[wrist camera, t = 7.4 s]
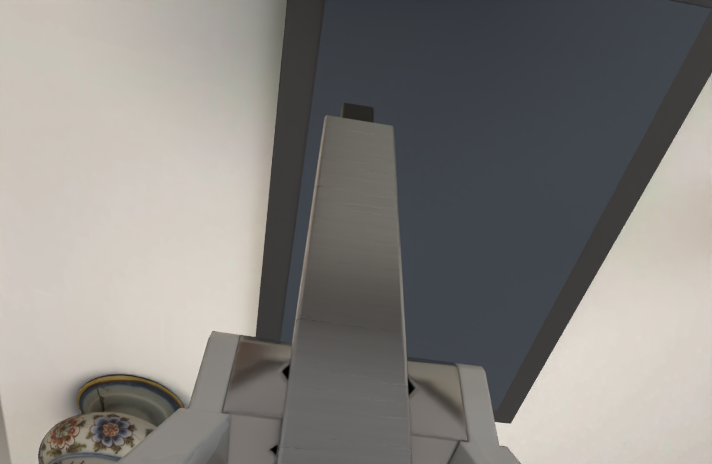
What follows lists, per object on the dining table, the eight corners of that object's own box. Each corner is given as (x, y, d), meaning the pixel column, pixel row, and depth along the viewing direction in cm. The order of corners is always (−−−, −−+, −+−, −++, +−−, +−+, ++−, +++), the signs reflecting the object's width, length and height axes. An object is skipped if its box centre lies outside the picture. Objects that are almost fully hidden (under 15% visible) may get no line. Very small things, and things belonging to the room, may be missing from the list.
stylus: (329, 83, 18) (246, 662, 6) (393, 94, 18) (425, 678, 7) (321, 140, 19) (238, 714, 8) (380, 149, 20) (390, 725, 8)
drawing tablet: (300, -121, 29) (297, -117, 28) (758, -31, 31) (770, -25, 30) (252, 382, 54) (250, 393, 53) (508, 414, 56) (511, 425, 55)
